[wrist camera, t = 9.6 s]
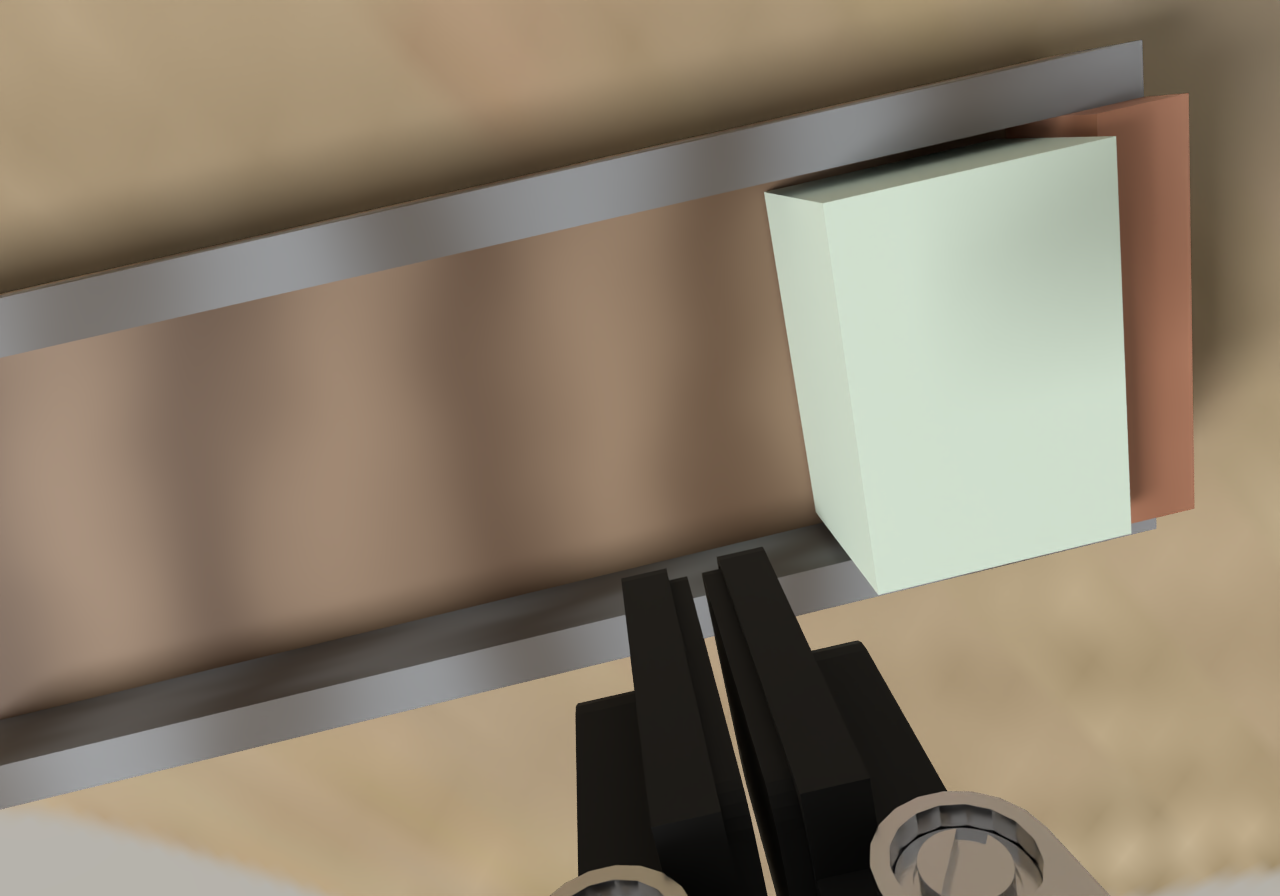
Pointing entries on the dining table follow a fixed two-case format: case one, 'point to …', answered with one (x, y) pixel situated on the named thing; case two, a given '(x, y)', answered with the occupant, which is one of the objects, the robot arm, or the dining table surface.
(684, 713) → the robot arm
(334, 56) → the dining table surface
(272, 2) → the dining table surface
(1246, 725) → the dining table surface
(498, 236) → the track
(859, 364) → the sliding block
